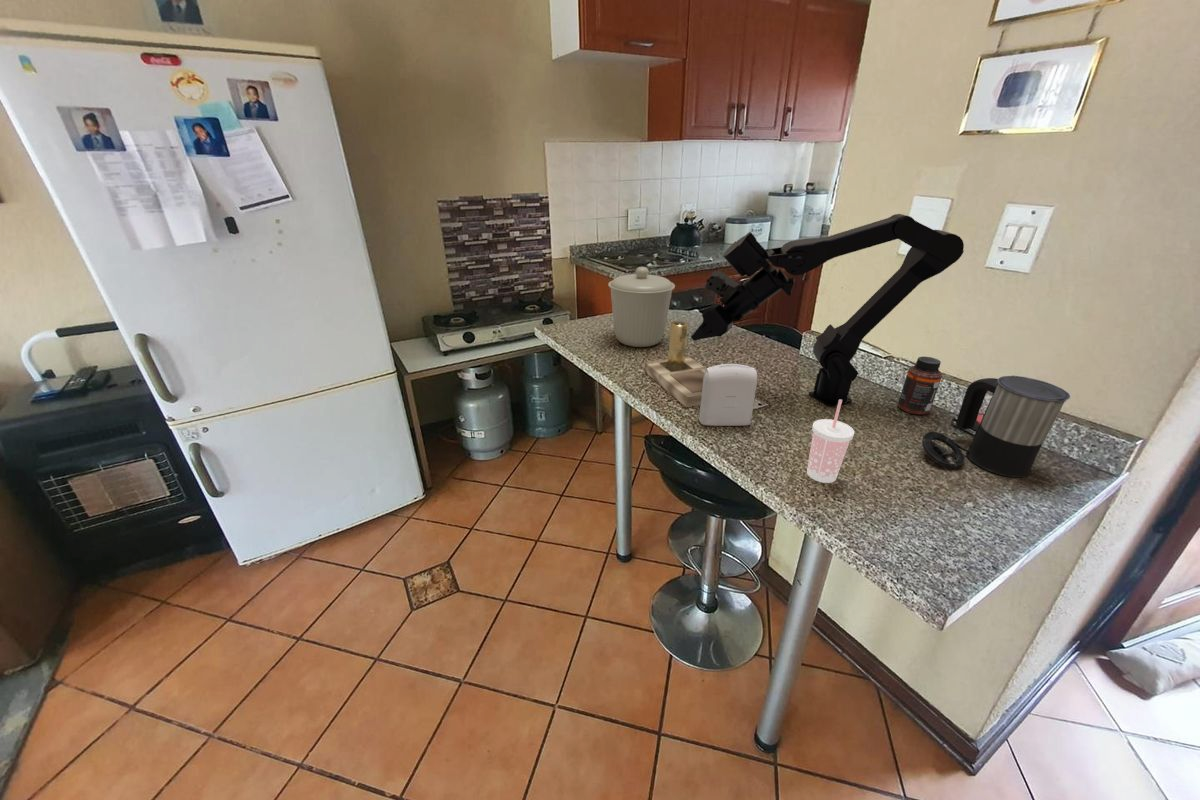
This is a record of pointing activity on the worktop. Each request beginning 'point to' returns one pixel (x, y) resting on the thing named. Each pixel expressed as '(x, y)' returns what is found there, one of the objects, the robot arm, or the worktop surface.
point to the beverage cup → (828, 448)
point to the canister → (640, 307)
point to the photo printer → (728, 395)
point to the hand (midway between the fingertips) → (699, 332)
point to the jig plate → (679, 380)
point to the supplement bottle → (920, 386)
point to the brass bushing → (677, 346)
